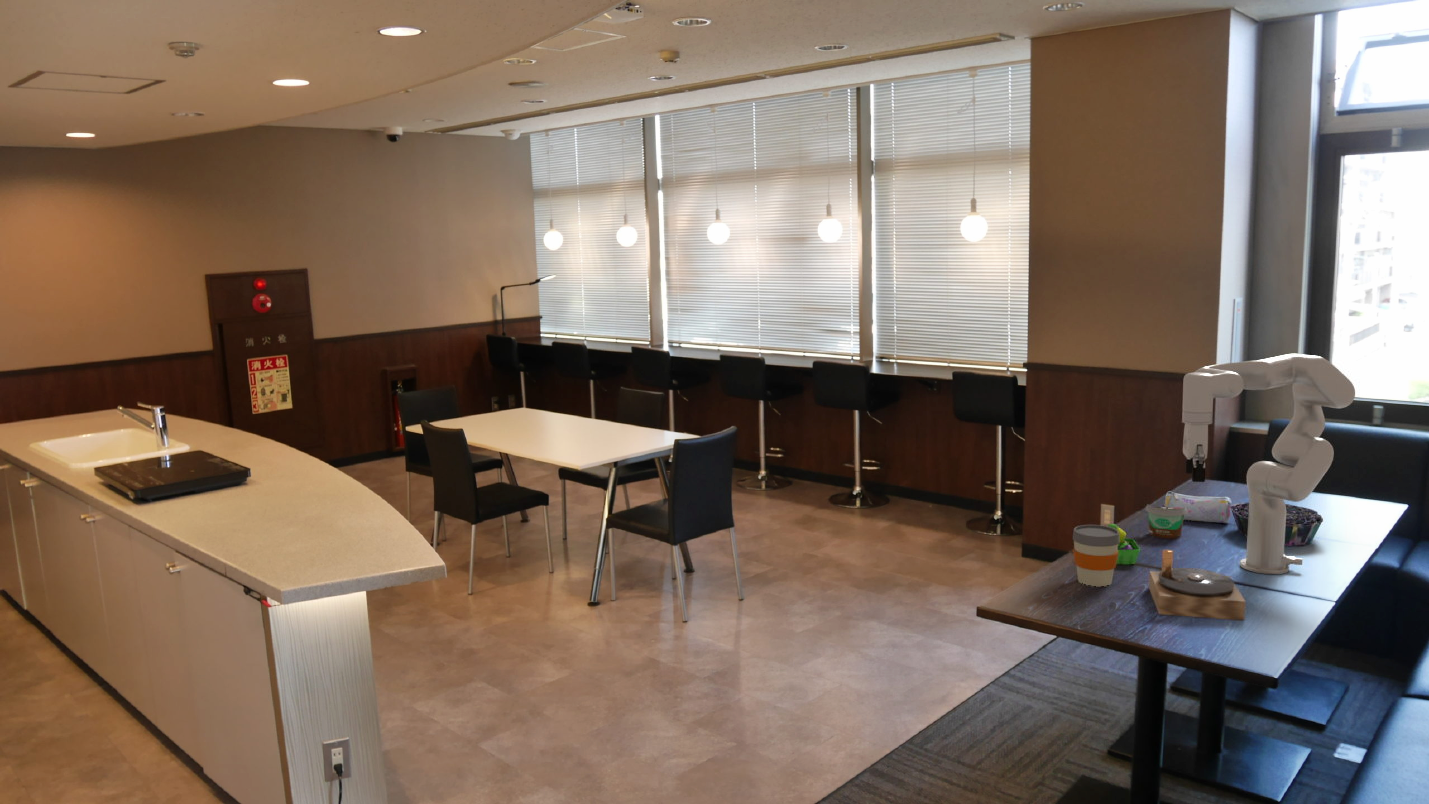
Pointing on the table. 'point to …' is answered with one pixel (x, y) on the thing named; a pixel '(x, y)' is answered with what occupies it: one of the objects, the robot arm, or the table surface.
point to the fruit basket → (1126, 548)
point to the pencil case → (1201, 507)
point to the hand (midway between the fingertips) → (1195, 477)
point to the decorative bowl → (1298, 523)
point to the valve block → (1196, 602)
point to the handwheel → (1193, 579)
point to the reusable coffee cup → (1095, 553)
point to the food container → (1165, 521)
